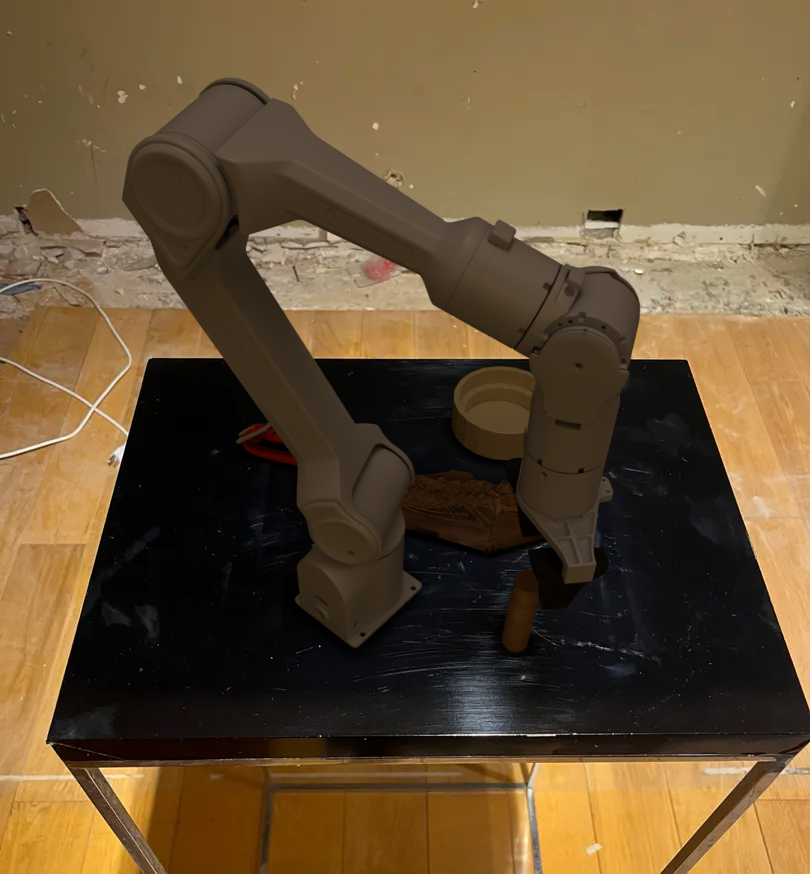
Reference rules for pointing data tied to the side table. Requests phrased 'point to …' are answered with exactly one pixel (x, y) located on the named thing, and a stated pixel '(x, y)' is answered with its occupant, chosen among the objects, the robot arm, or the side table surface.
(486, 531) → the wooden fragment
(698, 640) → the side table surface
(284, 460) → the tracker holder
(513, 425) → the bowl
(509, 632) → the stick
